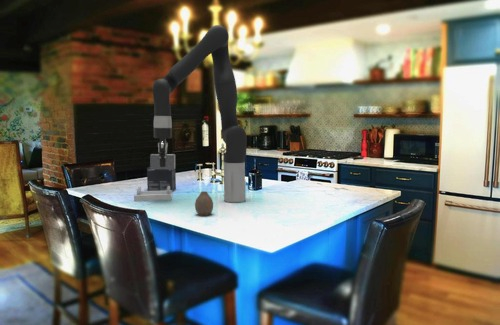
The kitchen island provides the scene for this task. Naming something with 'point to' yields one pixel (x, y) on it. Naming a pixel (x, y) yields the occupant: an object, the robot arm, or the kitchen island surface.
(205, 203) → the vase
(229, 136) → the robot arm
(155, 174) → the small box
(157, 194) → the tray
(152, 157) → the block
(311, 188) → the kitchen island surface
